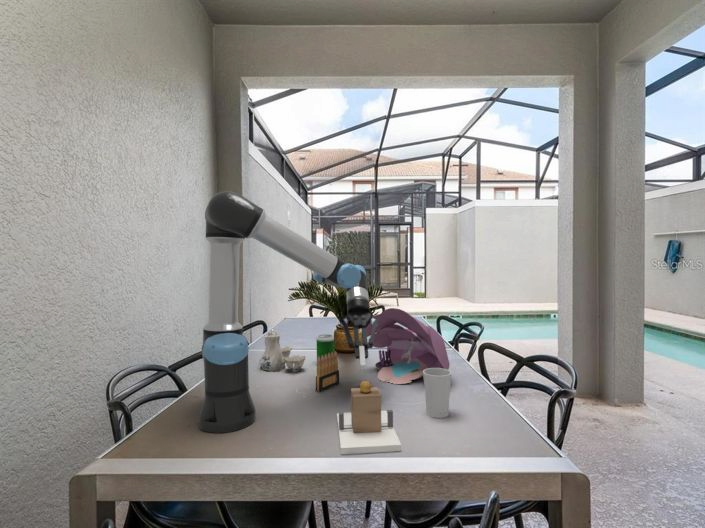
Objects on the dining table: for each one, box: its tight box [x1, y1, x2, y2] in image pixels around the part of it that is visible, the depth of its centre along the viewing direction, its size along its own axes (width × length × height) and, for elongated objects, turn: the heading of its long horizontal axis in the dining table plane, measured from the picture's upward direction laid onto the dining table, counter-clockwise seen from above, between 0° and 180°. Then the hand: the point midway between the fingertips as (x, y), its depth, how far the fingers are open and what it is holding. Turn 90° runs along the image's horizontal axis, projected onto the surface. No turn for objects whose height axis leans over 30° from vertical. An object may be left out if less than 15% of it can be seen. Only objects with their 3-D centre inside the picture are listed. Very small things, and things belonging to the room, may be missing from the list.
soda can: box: [316, 333, 335, 361], centre depth 165 cm, size 8×8×12 cm
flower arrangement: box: [366, 307, 450, 385], centre depth 146 cm, size 35×24×28 cm
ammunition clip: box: [315, 350, 340, 393], centre depth 135 cm, size 11×2×12 cm, turn 143°
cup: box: [422, 368, 452, 419], centre depth 112 cm, size 8×8×12 cm
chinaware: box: [259, 328, 306, 373], centre depth 162 cm, size 28×17×17 cm, turn 33°
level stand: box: [336, 409, 402, 455], centre depth 100 cm, size 20×14×6 cm
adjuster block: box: [350, 380, 382, 433], centre depth 100 cm, size 6×7×12 cm
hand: (362, 367), depth 115 cm, fingers closed
